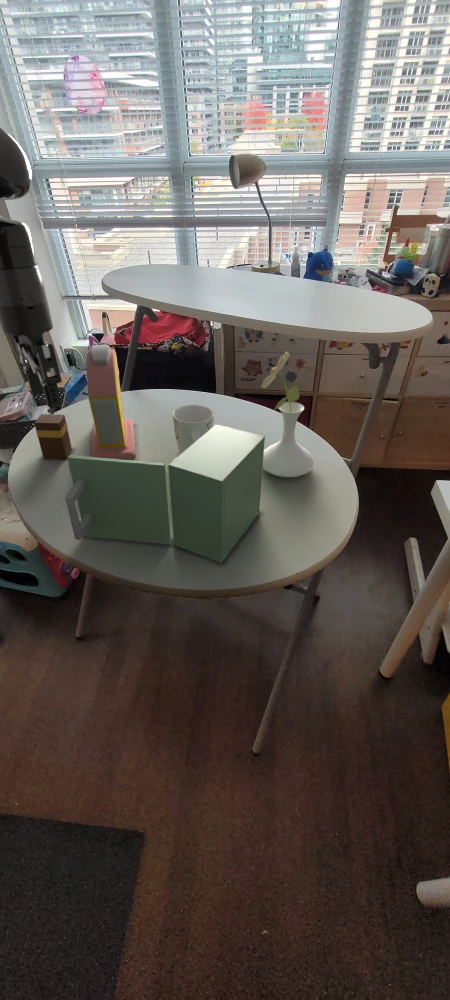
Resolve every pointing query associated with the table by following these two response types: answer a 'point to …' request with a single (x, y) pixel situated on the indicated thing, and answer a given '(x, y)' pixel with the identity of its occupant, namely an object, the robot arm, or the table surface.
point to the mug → (191, 424)
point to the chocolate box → (53, 436)
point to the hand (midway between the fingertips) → (46, 400)
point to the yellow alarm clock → (108, 407)
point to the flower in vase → (286, 434)
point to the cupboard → (216, 490)
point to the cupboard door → (119, 499)
